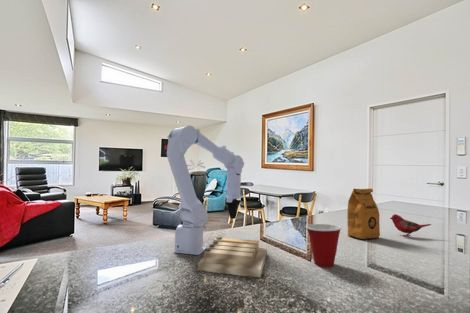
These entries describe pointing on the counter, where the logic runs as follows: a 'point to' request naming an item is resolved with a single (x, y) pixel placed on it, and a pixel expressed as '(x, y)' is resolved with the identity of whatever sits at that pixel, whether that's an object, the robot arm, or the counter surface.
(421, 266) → the counter surface
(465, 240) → the counter surface
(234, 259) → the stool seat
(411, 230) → the decorative bird figurine
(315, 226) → the plastic cup
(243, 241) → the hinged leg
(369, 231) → the coffee package
